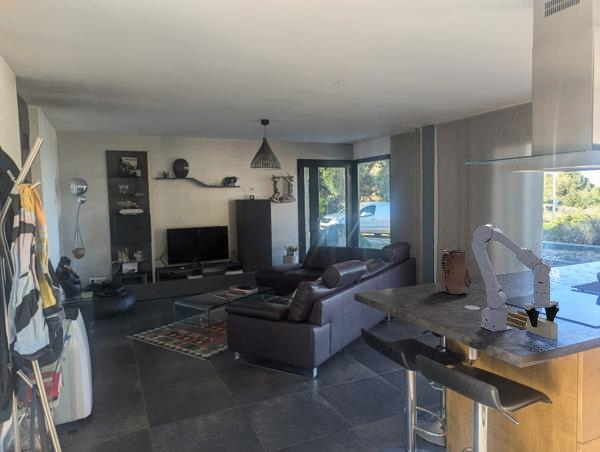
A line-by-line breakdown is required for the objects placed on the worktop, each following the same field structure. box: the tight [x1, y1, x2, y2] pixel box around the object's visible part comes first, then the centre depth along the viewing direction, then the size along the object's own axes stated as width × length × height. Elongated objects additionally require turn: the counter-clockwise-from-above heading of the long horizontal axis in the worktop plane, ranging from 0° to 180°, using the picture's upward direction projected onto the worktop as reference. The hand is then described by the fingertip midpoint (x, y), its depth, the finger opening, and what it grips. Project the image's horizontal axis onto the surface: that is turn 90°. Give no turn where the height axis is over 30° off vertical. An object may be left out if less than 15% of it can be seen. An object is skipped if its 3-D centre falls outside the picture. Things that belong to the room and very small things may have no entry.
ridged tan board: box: [507, 309, 546, 330], centre depth 186 cm, size 16×18×2 cm
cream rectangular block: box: [526, 316, 559, 340], centre depth 168 cm, size 3×12×6 cm, turn 15°
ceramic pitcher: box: [438, 248, 472, 295], centre depth 244 cm, size 18×21×25 cm
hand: (542, 325), depth 168 cm, fingers open, 7 cm apart
